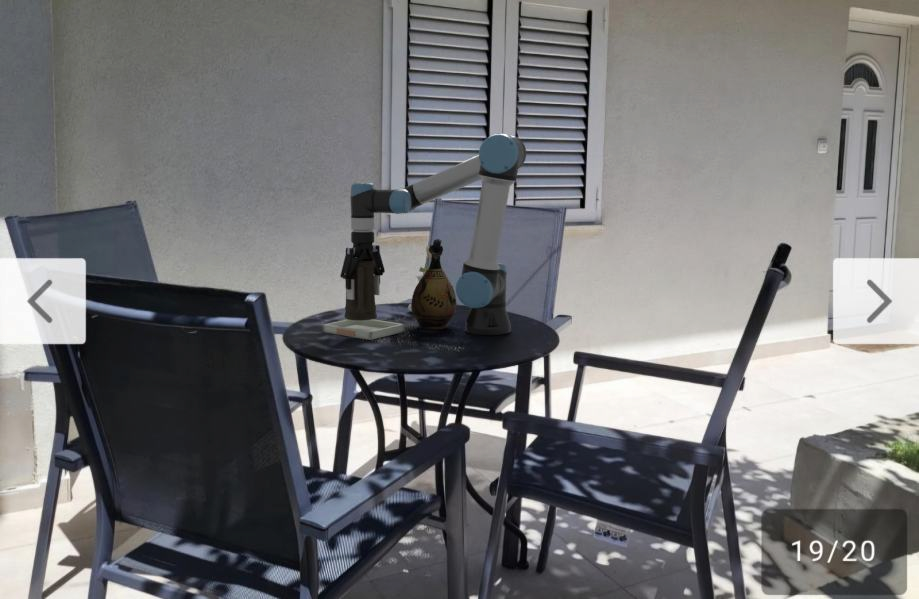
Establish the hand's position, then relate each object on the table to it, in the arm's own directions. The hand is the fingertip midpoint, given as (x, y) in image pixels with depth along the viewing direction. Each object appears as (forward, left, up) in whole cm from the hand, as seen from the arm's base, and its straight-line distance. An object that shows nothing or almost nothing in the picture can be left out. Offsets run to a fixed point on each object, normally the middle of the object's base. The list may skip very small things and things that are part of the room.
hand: (363, 297), depth 279 cm
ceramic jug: (-21, +13, -12) cm, 27 cm away
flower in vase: (-42, -8, -12) cm, 44 cm away
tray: (0, 0, -12) cm, 12 cm away
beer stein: (+1, 0, -7) cm, 8 cm away
